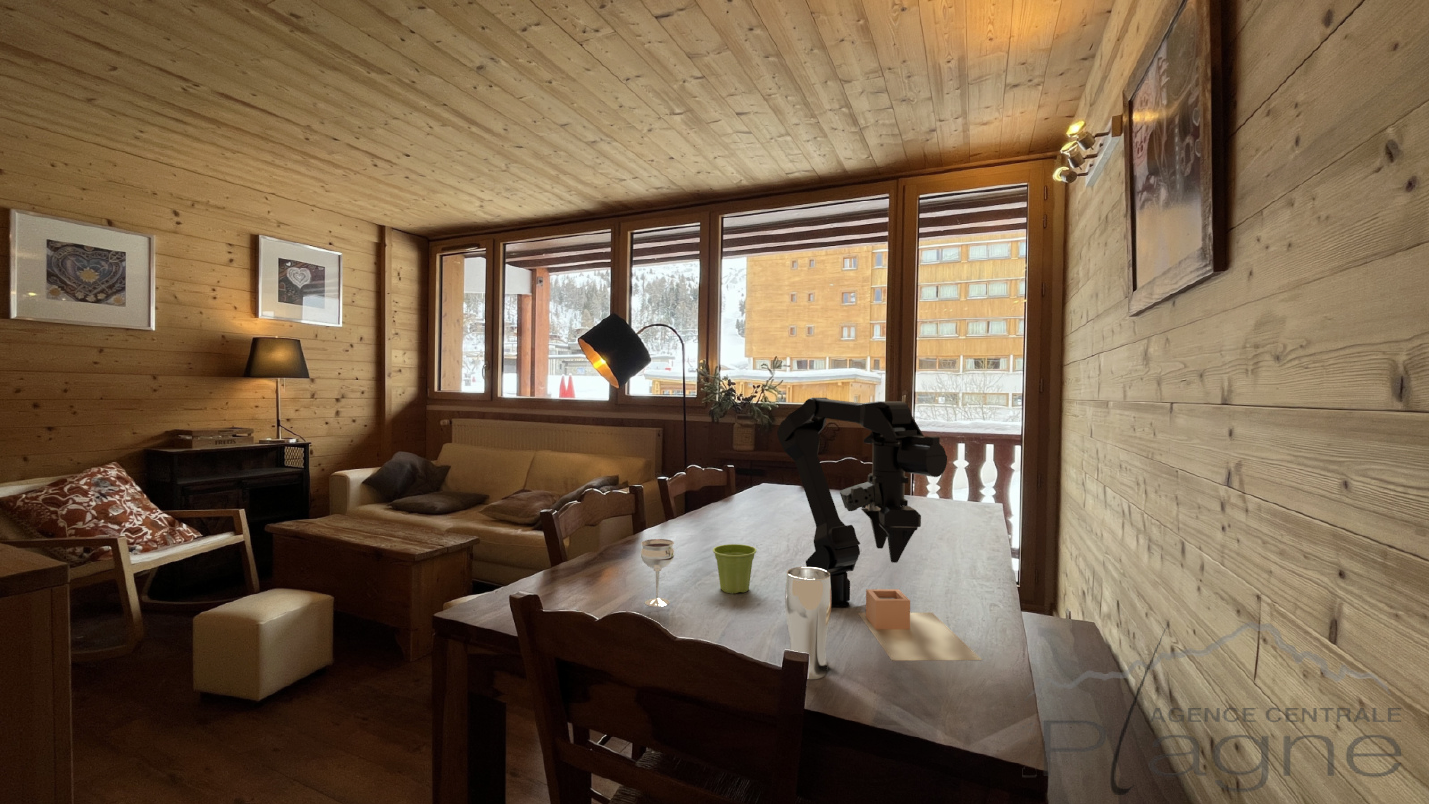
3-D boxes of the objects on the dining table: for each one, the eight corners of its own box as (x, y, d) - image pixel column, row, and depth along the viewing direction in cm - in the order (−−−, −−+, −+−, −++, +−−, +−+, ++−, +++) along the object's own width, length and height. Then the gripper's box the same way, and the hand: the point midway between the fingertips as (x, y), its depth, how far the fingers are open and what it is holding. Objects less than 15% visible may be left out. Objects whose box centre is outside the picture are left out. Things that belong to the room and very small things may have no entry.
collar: (875, 629, 105) (875, 600, 105) (865, 616, 111) (866, 589, 111) (909, 629, 105) (910, 600, 105) (898, 616, 111) (898, 589, 111)
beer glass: (780, 661, 96) (781, 566, 95) (823, 659, 96) (824, 565, 96) (789, 682, 89) (790, 580, 88) (836, 680, 89) (837, 579, 89)
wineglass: (633, 602, 122) (633, 543, 121) (658, 594, 127) (658, 537, 126) (655, 610, 117) (656, 549, 117) (681, 602, 122) (681, 542, 122)
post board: (891, 670, 93) (892, 634, 93) (857, 620, 113) (858, 591, 113) (982, 669, 93) (982, 634, 93) (932, 620, 113) (932, 591, 113)
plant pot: (705, 593, 128) (705, 552, 127) (722, 580, 136) (722, 542, 136) (747, 599, 124) (747, 557, 124) (762, 585, 133) (762, 546, 132)
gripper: (834, 462, 120) (832, 541, 120) (856, 477, 101) (854, 569, 101) (890, 463, 120) (888, 542, 120) (923, 478, 101) (920, 570, 101)
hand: (886, 555), depth 111 cm, fingers open, 9 cm apart
